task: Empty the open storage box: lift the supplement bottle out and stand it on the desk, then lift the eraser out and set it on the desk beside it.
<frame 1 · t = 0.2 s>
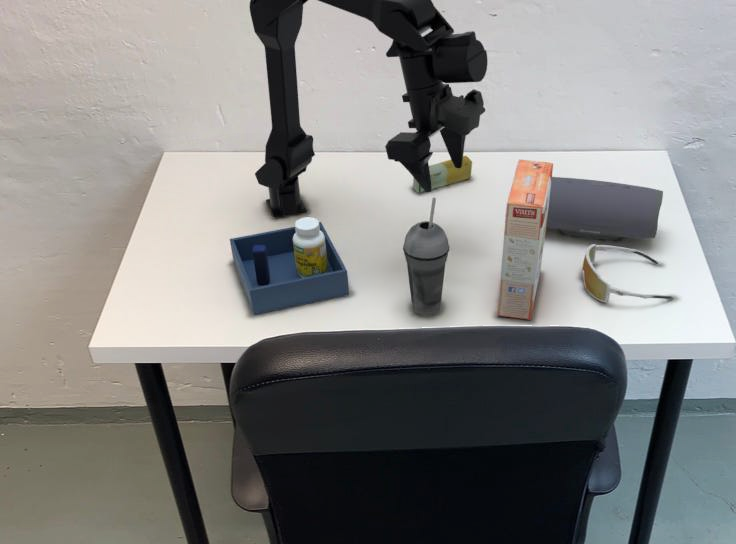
hand: (443, 179, 146), 15 cm above the table, tool pointing down, fingers open, 9 cm apart
medication box: (442, 185, 175), on the table
bluetooth speaker: (590, 234, 163), on the table
storage box: (290, 278, 152), on the table
cracker box: (520, 295, 149), on the table
supplement bottle: (312, 273, 153), resting on storage box
eraser: (264, 283, 151), resting on storage box
beverage cup: (426, 308, 146), on the table
sunglasses: (623, 283, 152), on the table
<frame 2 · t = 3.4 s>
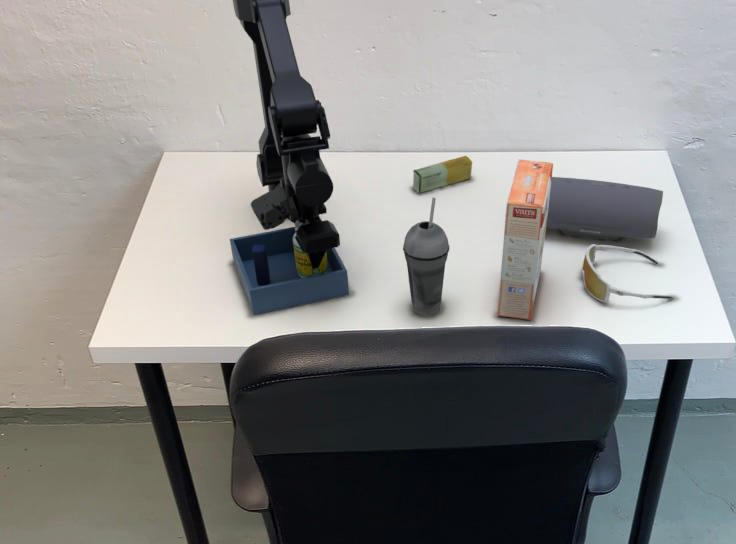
hand: (311, 258, 151), 3 cm above the table, tool pointing down, fingers closed on supplement bottle, 5 cm apart
supplement bottle: (312, 273, 153), resting on storage box, touching gripper
everything else where it was.
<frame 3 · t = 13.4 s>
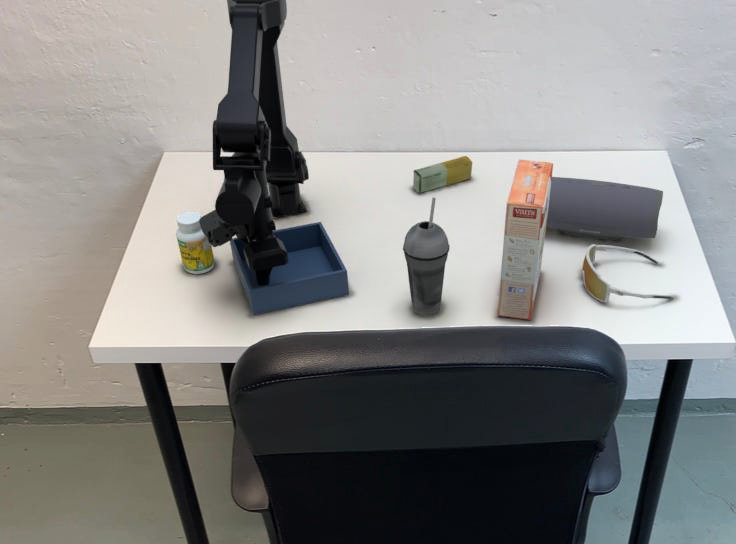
hand: (262, 275, 150), 2 cm above the table, tool pointing down, fingers closed on eraser, 2 cm apart
supplement bottle: (199, 267, 155), on the table
eraser: (264, 283, 151), resting on storage box, touching gripper
everything else where it was.
when the fingers open (1 cm above the table, at t = 18.1 s): eraser stays where it is, on the table.
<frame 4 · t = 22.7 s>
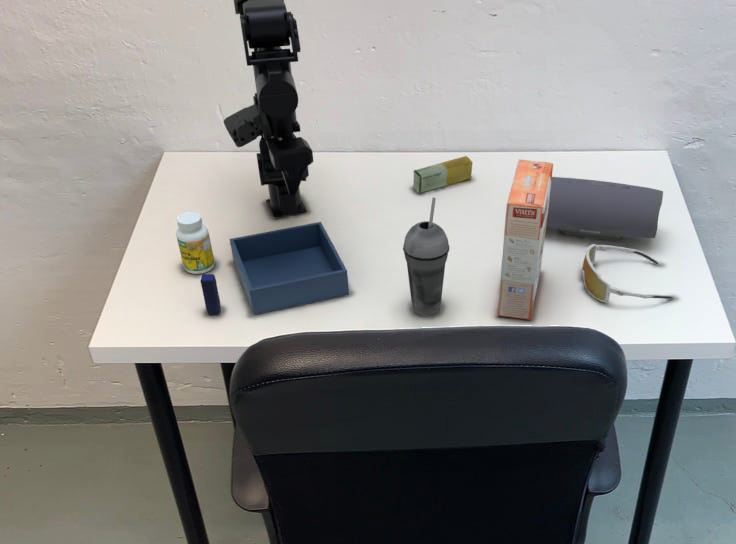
hand: (286, 181, 150), 13 cm above the table, tool pointing down, fingers open, 9 cm apart
eraser: (214, 312, 146), on the table
everything else where it was.
at the end: supplement bottle inside the target area (0.1 cm from its centre), on the table; supplement bottle tilted 0°; eraser inside the target area (0.1 cm from its centre), on the table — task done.
